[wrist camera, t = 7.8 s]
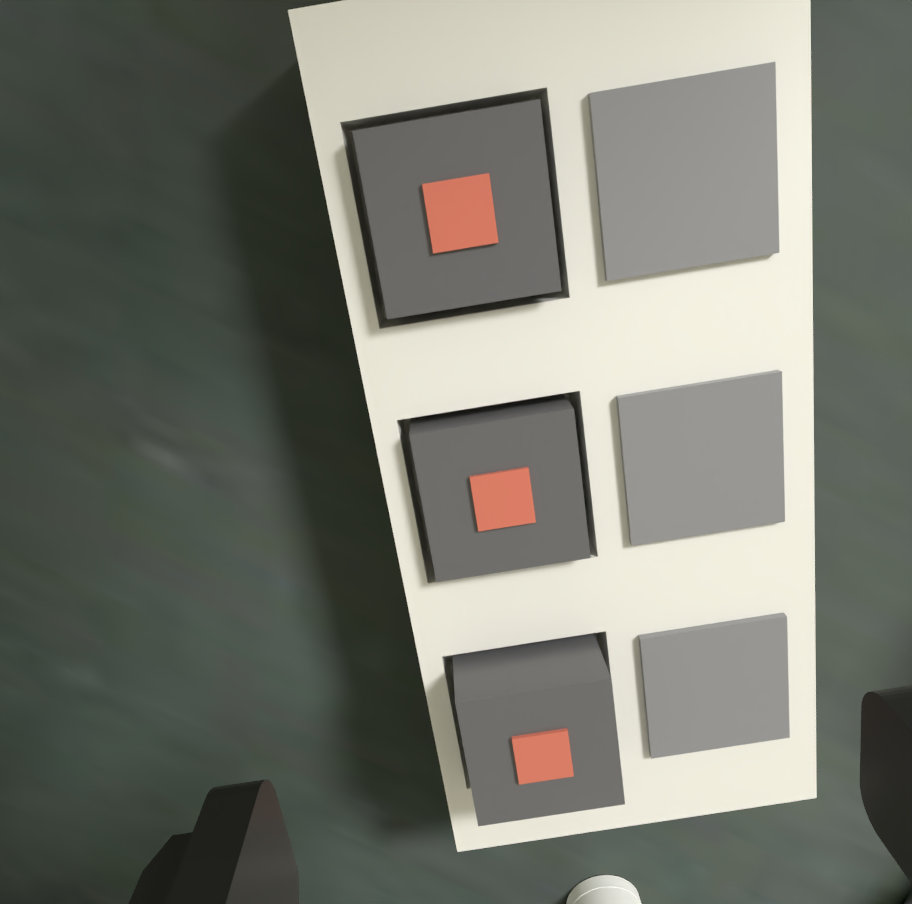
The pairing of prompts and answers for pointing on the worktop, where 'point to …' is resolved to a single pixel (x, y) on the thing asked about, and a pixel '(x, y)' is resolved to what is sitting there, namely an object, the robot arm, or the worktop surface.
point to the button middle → (501, 487)
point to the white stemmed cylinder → (604, 891)
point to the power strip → (616, 368)
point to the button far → (538, 729)
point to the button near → (460, 208)
